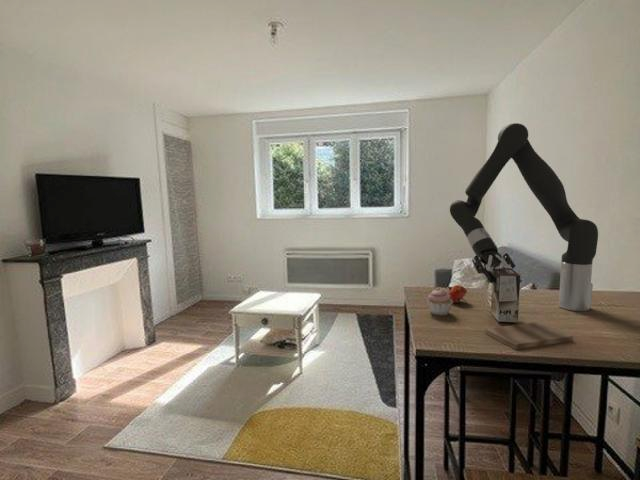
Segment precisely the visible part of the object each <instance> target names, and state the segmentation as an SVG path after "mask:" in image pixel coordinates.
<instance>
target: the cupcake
mask: <svg viewBox="0 0 640 480" xmlns="http://www.w3.org/2000/svg"><path fill="white" fill-rule="evenodd" d="M426 302H427V304H428V306H429V312H430V313H431V314H432V315H434V316H440V317H441V316H442V317H444V316H447V315H449V313H450V310H451V307H452V305H453V304H454V303H453V301H452V300H450V296H449V294H448V292H447V291H446V289H445V288H443V287H441V286H438V287H437V289H434V290H432V291H431V293H429V294H428V297H427V298H426Z"/></svg>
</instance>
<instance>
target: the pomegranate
mask: <svg viewBox="0 0 640 480" xmlns="http://www.w3.org/2000/svg"><path fill="white" fill-rule="evenodd" d="M446 288H448V292H447V293H448V294H449V296H450V300H452V301H453V303H452V304H458V303H460V301H461V300H462V301H464V302H466V303H467V300H465V299H464V297H465V296H466V294H467V293H468V291H467V290H468V289H466V288H465V287H464V286H463V285H459V284H457V285H453V286H451V287H450V286H446Z"/></svg>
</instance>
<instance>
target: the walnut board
mask: <svg viewBox="0 0 640 480" xmlns="http://www.w3.org/2000/svg"><path fill="white" fill-rule="evenodd" d="M485 334H486V335H487V336H489V337H491V338H493V339H495V340H496V341H498V342H500V343H502V344H504V345H506V346H508V347H510V348H512V349H513V350H515V351H516V350H522V349H523V350H524V349H528V348H534V347H542V346H548V345H554V344H561V343H567V342H573V341H574V335H571V334H570V333H566V332H564V331H561V330H559V329H558V328H555V327H552V326H550V325H548V324H545V323H542V322H540V321H537V322H527V323H520V324H513V325H505V326H498V327H491V328H490V327H489V328H485Z"/></svg>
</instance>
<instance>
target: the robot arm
mask: <svg viewBox="0 0 640 480" xmlns="http://www.w3.org/2000/svg"><path fill="white" fill-rule="evenodd" d="M510 160H513V162H514V163H515V165H516V167H517V168H518V170H519V173H520V174H521V175H522V177H523V180H524V181H525V183H526V185H527V186H528V188H529V189H530V191H531V192H532V194H533V195H534V196H535V198H536V199H537V200H538V202H539V203H540V205H541V206H542V207H543V209H544V210H545V211H546V212H547V214H548V215H549V217H550V218H551V219H550V220H552V222H553V224H554V226H555V228H556V230H557V232H558V234H559V235H560V237H561V238H562V239H563V240H564V241H565V242H567V248H566V251H565V252H564V253H562V255H561V263H560V264H561V265H560V276H559V277H560V279H559V294H558V295H559V296H558V307H560V308H562V309H564V310H568V311H574V312H587V311H589V310H590V309H592V301H593V300H592V299H593V298H592V297H593V285H594V284H593V282H592V276H593V275H592V273H593V262H594V258H595V257H596V255H597V248H598V241H599V230H598V226H597V224H596V223H594V222H593V221H591V220H589V219H585V218H580V217H578V216H577V214H576V213H575V212H574V210H573V209H572V208H571V206H570V204H569V202H568V199H567V194H566V190H565V187H564V184H563V181H561V180H560V178H559V176H558V175H557V174H556V172H555V171H554V170H553V169H552V167H551V166H550V165H549V164H548V163H547V162H546V161H545V160H544V159H543V158H542V157H541V156H540V155H539V154H538V153H537V152H536V151H535V149H534V148H533V146H532V144H531V142H530V141H529V129H528V128H527V127H526V126H525V125H524V124H521V123H509V124H507V125H505V126H503V127H502V128H501V129H500V130H499V133H498V134H497V143H496V145H495V148H494V149H493V151H492V152H491V154H490V156H489V157H488V159H487V160H486V161H485V163H484V164H483V165H482V167H480V169H479V170H478V171H477V172H476V174H475V175H474V176H473V178H472V179H471V181H470V183H469V184H468V186H467V187H466V189H465V192H464V193H465V195H466V196H467V199H466V201H464V200H454V201H453V202H452V203H451V204H450V206H449V213H450V216H451V217H452V219H453V220H454V222H456V224H457V225H458V226H459V227H460V228H461V230H462V231H463V233H464V234H465V237H466V238H467V241H468V243H469V246H470V247H471V249H472V252H473V253H474V254H475V256H473V258H472V259H471V262H472V264H473V266H474V268H475V270H476V272H477V273H478V274H483V275H484V276H485V277H486V279H487V281H488V282H489V283H490V284H492V283H494V282H495V278H494V276H493V274H492V270H491V268H492V269H493V268H497V269H500V268H511V269H513V270H514V269H515V268H516V264H515V263H514V261H513V260H512V258H511V257H510V255H509V254H508V253H504V254H500V253H499V251H498V247H497V244H496V243H495V241H494V240H493V238H492V237H491V235H490V234H489V232H488V231H487V230H486V228H485V227H484V225H483V224H482V221H481V220H479V219H478V218H477V217H476V215H477V213H478V211H479V209H480V206H481V204H482V201H483V198H484V197H485V195H486V194H487V193H488V191H489V189H490V188H491V187H492V185H493V184H494V182H495V180H496V179H497V178H498V177H499V175H500V173H501V171H502V170H503V169H504V168H505V166H506V165H507V164H508V162H509V161H510Z"/></svg>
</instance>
